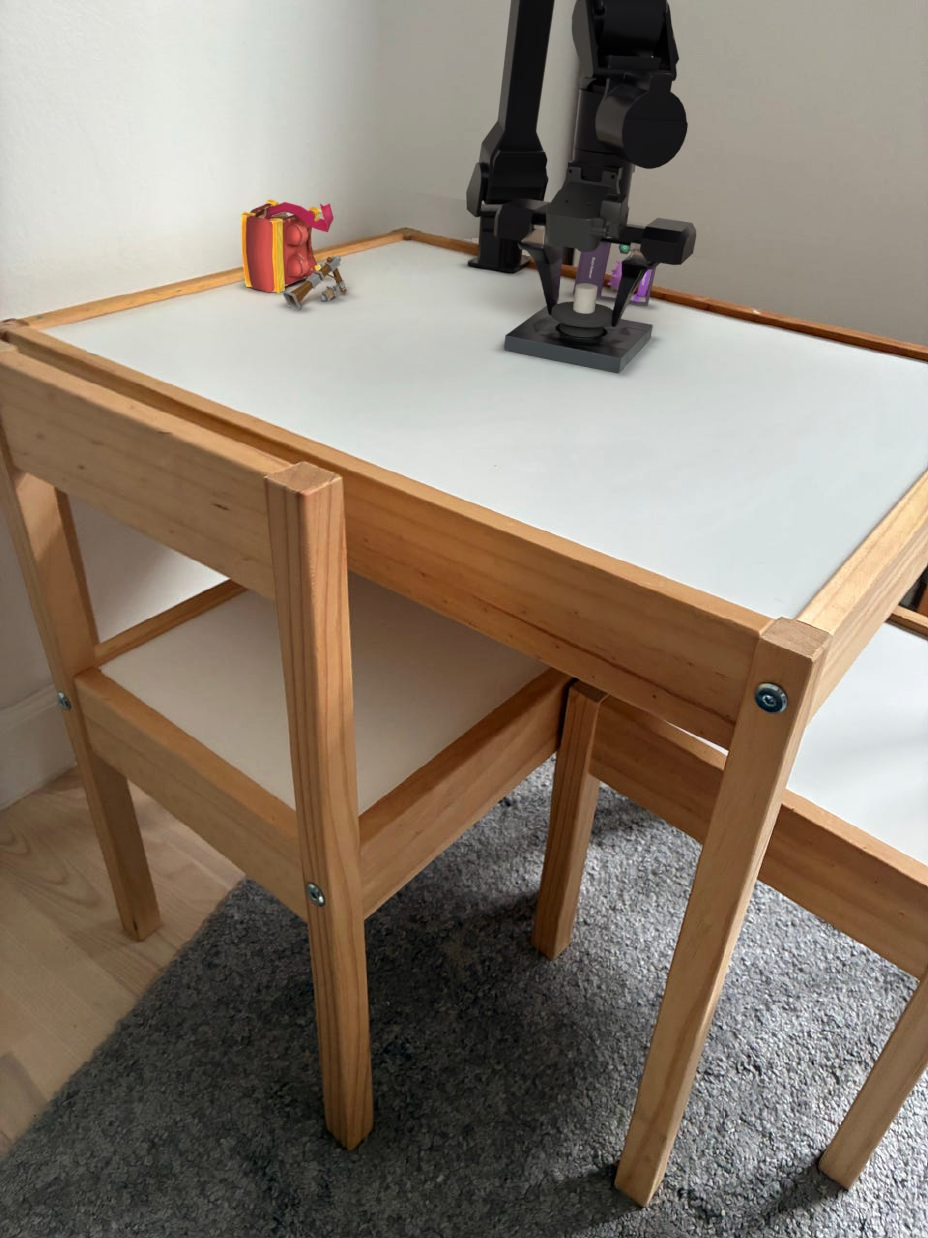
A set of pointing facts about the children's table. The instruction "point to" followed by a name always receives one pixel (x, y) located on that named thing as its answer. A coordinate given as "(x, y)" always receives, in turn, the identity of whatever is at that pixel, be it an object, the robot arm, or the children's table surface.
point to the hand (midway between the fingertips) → (582, 319)
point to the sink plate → (579, 342)
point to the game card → (595, 269)
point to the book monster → (280, 244)
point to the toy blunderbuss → (314, 280)
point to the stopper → (583, 313)
